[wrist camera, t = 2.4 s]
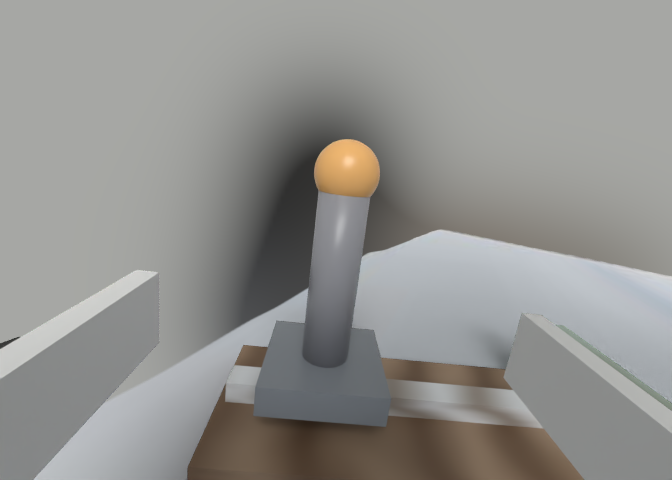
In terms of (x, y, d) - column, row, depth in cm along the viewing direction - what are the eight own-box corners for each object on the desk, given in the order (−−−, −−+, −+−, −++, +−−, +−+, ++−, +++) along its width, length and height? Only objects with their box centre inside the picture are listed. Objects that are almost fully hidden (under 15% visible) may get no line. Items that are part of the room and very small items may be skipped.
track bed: (553, 381, 32) (570, 326, 31) (716, 544, 19) (760, 459, 17) (245, 353, 31) (248, 294, 29) (179, 507, 17) (179, 411, 16)
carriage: (368, 361, 28) (402, 149, 24) (383, 440, 20) (438, 145, 16) (273, 353, 28) (291, 135, 23) (252, 429, 20) (272, 124, 16)
